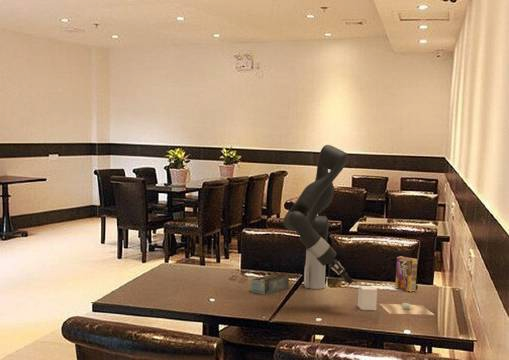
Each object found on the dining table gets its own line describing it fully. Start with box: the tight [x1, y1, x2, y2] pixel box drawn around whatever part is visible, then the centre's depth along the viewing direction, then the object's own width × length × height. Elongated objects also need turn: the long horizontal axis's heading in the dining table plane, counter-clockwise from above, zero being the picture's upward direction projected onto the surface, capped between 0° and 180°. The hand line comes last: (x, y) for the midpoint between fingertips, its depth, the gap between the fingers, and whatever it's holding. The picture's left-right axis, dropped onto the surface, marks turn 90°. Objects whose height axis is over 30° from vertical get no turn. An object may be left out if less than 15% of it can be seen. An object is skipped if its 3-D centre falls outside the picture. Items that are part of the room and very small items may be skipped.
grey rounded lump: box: [401, 302, 411, 310], centre depth 235 cm, size 3×3×2 cm
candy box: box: [394, 255, 418, 293], centre depth 273 cm, size 9×4×15 cm, turn 39°
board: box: [379, 303, 435, 316], centre depth 235 cm, size 18×15×1 cm
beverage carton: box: [250, 272, 290, 296], centre depth 261 cm, size 8×19×7 cm, turn 142°
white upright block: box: [357, 285, 378, 311], centre depth 234 cm, size 6×6×9 cm
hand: (349, 280), depth 233 cm, fingers open, 8 cm apart
